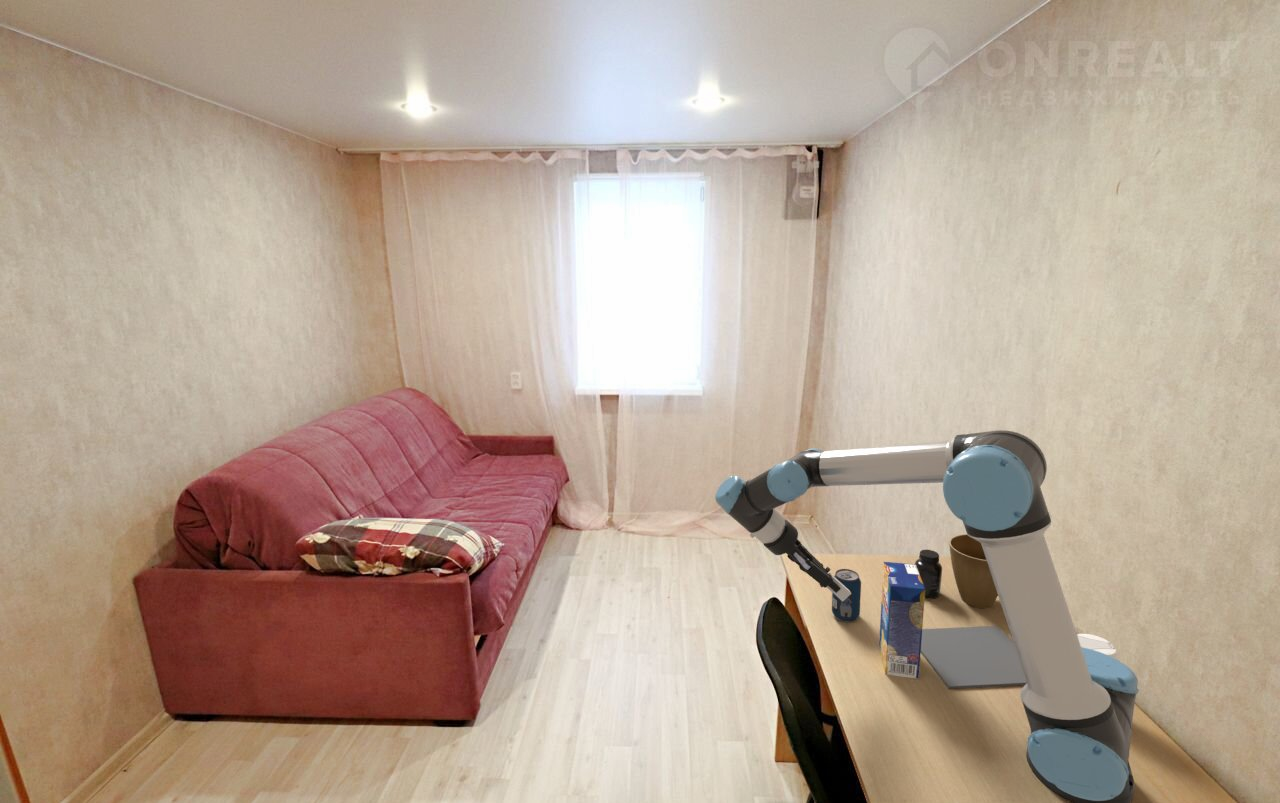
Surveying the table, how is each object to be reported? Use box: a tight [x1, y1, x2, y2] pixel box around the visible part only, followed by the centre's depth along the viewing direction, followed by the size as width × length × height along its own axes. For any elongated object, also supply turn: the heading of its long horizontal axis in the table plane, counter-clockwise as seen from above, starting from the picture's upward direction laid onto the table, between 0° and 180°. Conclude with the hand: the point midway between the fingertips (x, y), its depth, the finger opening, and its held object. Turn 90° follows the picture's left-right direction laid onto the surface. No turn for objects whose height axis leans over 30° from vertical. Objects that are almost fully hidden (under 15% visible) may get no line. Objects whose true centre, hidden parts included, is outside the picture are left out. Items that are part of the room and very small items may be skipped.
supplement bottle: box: [914, 549, 943, 600], centre depth 158 cm, size 7×7×12 cm
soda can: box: [831, 568, 862, 623], centre depth 149 cm, size 7×7×12 cm
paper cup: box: [1077, 633, 1119, 660], centre depth 116 cm, size 8×8×14 cm
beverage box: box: [878, 561, 926, 680], centre depth 130 cm, size 7×11×22 cm, turn 165°
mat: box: [920, 625, 1027, 690], centre depth 133 cm, size 20×23×1 cm
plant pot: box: [948, 533, 999, 609], centre depth 153 cm, size 15×15×16 cm
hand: (845, 595), depth 130 cm, fingers closed
